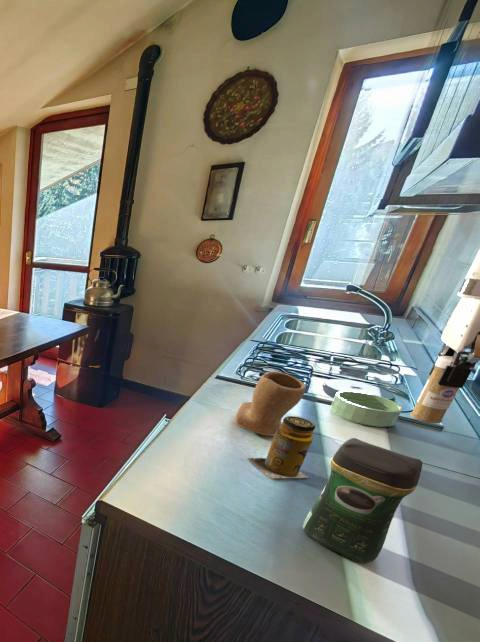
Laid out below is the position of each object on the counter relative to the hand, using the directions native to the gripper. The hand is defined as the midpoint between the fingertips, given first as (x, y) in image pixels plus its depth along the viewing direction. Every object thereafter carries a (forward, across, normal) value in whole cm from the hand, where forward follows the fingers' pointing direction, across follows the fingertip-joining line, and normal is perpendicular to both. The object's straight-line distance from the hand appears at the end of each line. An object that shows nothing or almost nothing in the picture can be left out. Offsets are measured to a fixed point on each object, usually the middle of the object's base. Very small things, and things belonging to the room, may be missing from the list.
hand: (445, 380), depth 78 cm
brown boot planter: (+21, +4, +26) cm, 33 cm away
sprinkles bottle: (+9, 0, 0) cm, 9 cm away
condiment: (+21, -17, +23) cm, 35 cm away
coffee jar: (+21, -37, +15) cm, 45 cm away
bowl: (+21, +27, +3) cm, 35 cm away
